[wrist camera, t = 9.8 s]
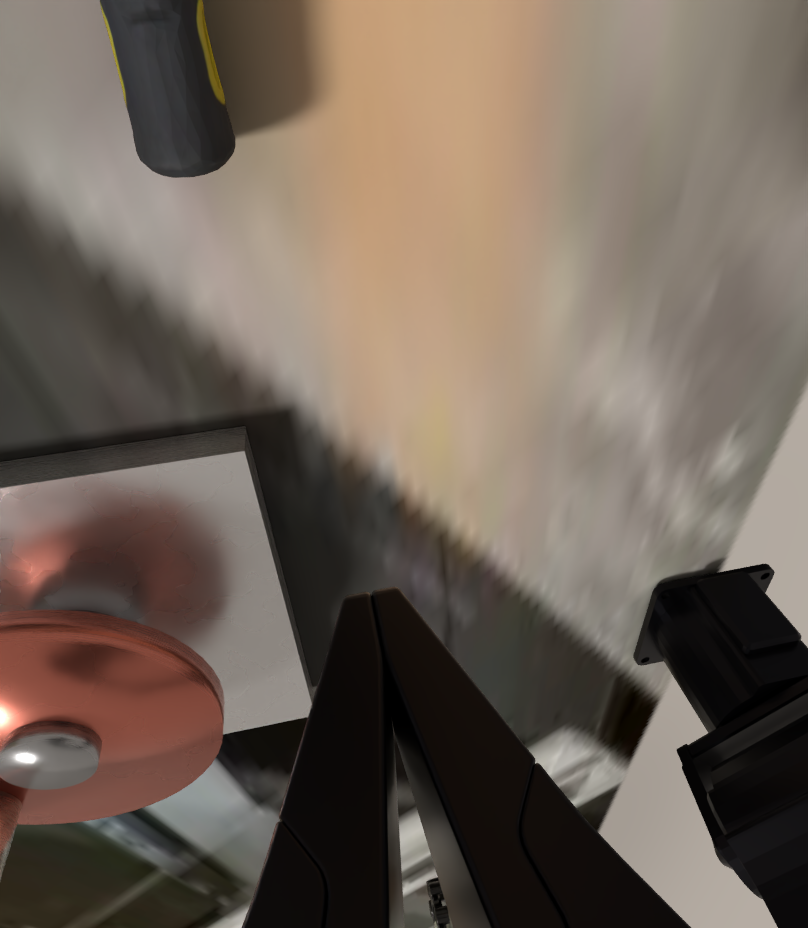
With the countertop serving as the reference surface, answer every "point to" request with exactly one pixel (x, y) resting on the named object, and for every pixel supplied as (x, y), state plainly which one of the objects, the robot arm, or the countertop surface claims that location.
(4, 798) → the handwheel
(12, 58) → the countertop surface
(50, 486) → the grey flat square slab
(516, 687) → the countertop surface
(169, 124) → the mallet
